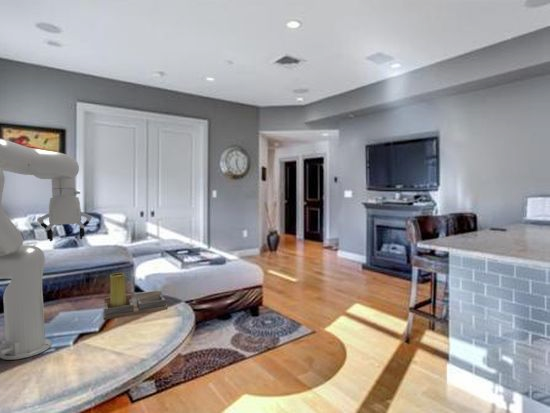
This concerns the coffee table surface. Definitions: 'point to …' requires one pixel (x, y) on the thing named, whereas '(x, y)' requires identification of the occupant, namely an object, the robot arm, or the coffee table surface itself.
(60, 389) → the coffee table surface
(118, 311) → the socket board
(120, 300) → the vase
